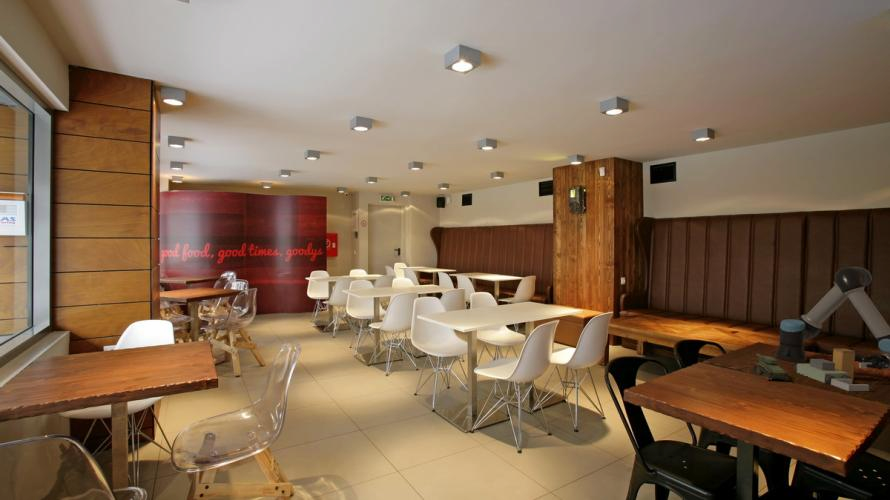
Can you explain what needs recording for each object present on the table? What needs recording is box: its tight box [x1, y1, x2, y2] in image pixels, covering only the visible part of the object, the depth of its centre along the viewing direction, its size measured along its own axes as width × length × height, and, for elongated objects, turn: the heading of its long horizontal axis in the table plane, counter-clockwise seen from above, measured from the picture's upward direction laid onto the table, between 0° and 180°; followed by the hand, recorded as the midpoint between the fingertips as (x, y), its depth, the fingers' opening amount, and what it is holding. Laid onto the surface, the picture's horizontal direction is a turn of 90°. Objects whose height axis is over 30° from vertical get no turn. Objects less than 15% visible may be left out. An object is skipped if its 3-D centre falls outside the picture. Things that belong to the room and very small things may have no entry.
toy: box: [753, 353, 790, 382], centre depth 231 cm, size 10×18×10 cm, turn 175°
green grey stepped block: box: [793, 358, 870, 392], centre depth 225 cm, size 29×13×9 cm, turn 4°
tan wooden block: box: [832, 348, 856, 380], centre depth 230 cm, size 5×7×15 cm
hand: (846, 361), depth 230 cm, fingers open, 13 cm apart
